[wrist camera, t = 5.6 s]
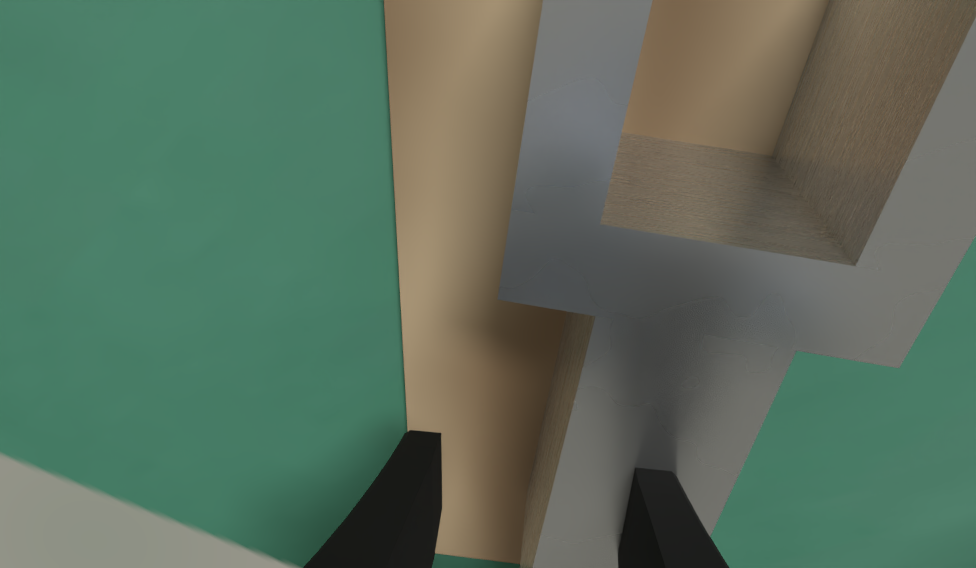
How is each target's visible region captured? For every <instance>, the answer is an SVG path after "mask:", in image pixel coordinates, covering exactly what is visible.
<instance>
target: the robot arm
mask: <svg viewBox="0 0 976 568" xmlns="http://www.w3.org/2000/svg"><path fill="white" fill-rule="evenodd" d="M441 512H442V448H441V433H437V432H427V431H416V430H409V431H408V432H407V433H405V434H404V436H403V438H402V439H401V441H400V443H399V444H398V446H397V448H396V449H395V451H394V452H393V454H392V456H391V457H390V459H389V460H388V462H387V463H386V465H385V466H384V468H383V469H382V470H381V472H380V473H379V475H378V476H377V478H376V479H375V480H374V482H373V483H372V485H371V486H370V487H369V489H368V490H367V491H366V493H365V494H364V495H363V497H362V498H361V499H360V501H359V502H358V503H357V505H356V506H355V507H354V508H353V510H352V511H351V512H350V514H349V515H348V516H347V517H346V519H345V520H344V521H343V522H342V524H341V525H340V526H339V527H338V528H337V529H336V531H335V532H334V533H333V534H332V535H331V537H330V538H329V539H328V540H327V541H326V542H325V544H324V545H323V546H322V547H321V548H320V550H319V551H318V552H317V553H316V554H315V555H314V556H313V557H312V559H311V560H310V561H309V562H308V563H307V564H306V565H305V566H304V567H303V568H432V564H433V560H434V555H435V549H436V543H437V537H438V531H439V525H440V518H441ZM618 568H729V567H728V565H727V564H726V562H725V560H724V559H723V557H722V556H721V554H720V552H719V551H718V549H717V547H716V546H715V544H714V542H713V541H712V539H711V537H710V536H709V534H708V533H707V531H706V529H705V527H704V526H703V524H702V522H701V521H700V519H699V517H698V515H697V513H696V512H695V510H694V508H693V506H692V504H691V502H690V501H689V499H688V497H687V495H686V493H685V491H684V489H683V487H682V485H681V484H680V482H679V480H678V478H677V476H676V475H675V474H674V473H673V472H672V471H665V470H655V469H646V468H636V467H635V470H634V476H633V481H632V486H631V491H630V496H629V501H628V506H627V511H626V516H625V521H624V526H623V531H622V536H621V541H620V546H619V551H618Z"/></svg>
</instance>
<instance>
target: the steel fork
mask: <svg viewBox="0 0 976 568" xmlns="http://www.w3.org/2000/svg"><path fill="white" fill-rule="evenodd" d="M652 1H653V0H543V4H542V10H541V17H540V23H539V30H538V37H537V43H536V50H535V56H534V63H533V69H532V76H531V82H530V89H529V96H528V102H527V109H526V115H525V122H524V128H523V135H522V141H521V148H520V155H519V161H518V168H517V174H516V181H515V187H514V194H513V200H512V207H511V213H510V220H509V227H508V233H507V240H506V246H505V253H504V259H503V266H502V272H501V279H500V286H499V292H498V299H497V300H503V301H509V302H515V303H521V304H527V305H532V306H538V307H544V308H550V309H556V310H562V311H567V313H566V318H565V322H564V327H563V331H562V336H561V340H560V345H559V349H558V354H557V358H556V363H555V367H554V372H553V376H552V381H551V385H550V390H549V394H548V399H547V403H546V408H545V412H544V417H543V421H542V426H541V430H540V435H539V439H538V444H537V448H536V453H535V457H534V462H533V466H532V471H531V475H530V480H529V485H528V489H527V497H526V507H525V518H524V529H523V539H522V550H521V561H520V568H618V551H619V546H620V541H621V536H622V531H623V526H624V521H625V516H626V511H627V506H628V501H629V496H630V491H631V486H632V481H633V476H634V470H635V467H636V468H646V469H655V470H665V471H672V472H673V473H674V474H675V475H676V476H677V478H678V480H679V482H680V484H681V485H682V487H683V489H684V491H685V493H686V495H687V497H688V499H689V501H690V502H691V504H692V506H693V508H694V510H695V512H696V513H697V515H698V517H699V519H700V521H701V522H702V524H703V526H704V527H705V529H706V531H707V533H708V534H709V536H711V534H712V532H713V529H714V527H715V525H716V523H717V521H718V519H719V516H720V514H721V512H722V510H723V508H724V506H725V504H726V501H727V499H728V497H729V495H730V493H731V491H732V488H733V486H734V484H735V482H736V480H737V478H738V475H739V473H740V471H741V469H742V467H743V465H744V463H745V460H746V458H747V456H748V454H749V452H750V450H751V447H752V445H753V443H754V441H755V439H756V437H757V435H758V432H759V430H760V428H761V426H762V424H763V422H764V419H765V417H766V415H767V413H768V411H769V409H770V406H771V404H772V402H773V400H774V398H775V396H776V394H777V391H778V389H779V387H780V385H781V383H782V381H783V378H784V376H785V374H786V372H787V370H788V368H789V366H790V363H791V361H792V359H793V357H794V355H795V353H796V351H802V352H808V353H813V354H819V355H825V356H831V357H837V358H843V359H849V360H854V361H860V362H866V363H872V364H878V365H884V366H890V367H895V368H899V367H900V365H901V364H902V362H903V360H904V359H905V357H906V355H907V353H908V352H909V350H910V348H911V346H912V345H913V343H914V341H915V340H916V338H917V336H918V334H919V333H920V331H921V329H922V327H923V326H924V324H925V322H926V321H927V319H928V317H929V315H930V314H931V312H932V310H933V308H934V307H935V305H936V303H937V301H938V300H939V298H940V296H941V295H942V293H943V291H944V289H945V288H946V286H947V284H948V282H949V281H950V279H951V277H952V276H953V274H954V272H955V270H956V269H957V267H958V265H959V263H960V262H961V260H962V258H963V257H964V255H965V253H966V251H967V250H968V248H969V246H970V244H971V243H972V241H973V239H974V237H975V236H976V0H829V2H828V5H827V7H826V10H825V13H824V16H823V18H822V21H821V24H820V26H819V29H818V32H817V35H816V37H815V40H814V43H813V46H812V48H811V51H810V54H809V56H808V59H807V62H806V65H805V67H804V70H803V73H802V76H801V78H800V81H799V84H798V86H797V89H796V92H795V95H794V97H793V100H792V103H791V106H790V108H789V111H788V114H787V116H786V119H785V122H784V125H783V127H782V130H781V133H780V136H779V138H778V141H777V144H776V146H775V149H774V152H773V155H772V156H770V155H763V154H757V153H751V152H744V151H738V150H732V149H725V148H719V147H713V146H706V145H700V144H693V143H687V142H681V141H674V140H668V139H662V138H655V137H649V136H643V135H636V134H630V133H624V132H622V129H623V124H624V120H625V116H626V112H627V107H628V103H629V99H630V95H631V90H632V86H633V82H634V78H635V73H636V69H637V65H638V61H639V56H640V52H641V48H642V44H643V39H644V35H645V31H646V26H647V22H648V18H649V14H650V9H651V5H652Z"/></svg>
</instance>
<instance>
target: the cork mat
mask: <svg viewBox="0 0 976 568" xmlns="http://www.w3.org/2000/svg"><path fill="white" fill-rule="evenodd" d="M828 2H829V0H653V1H652V5H651V9H650V14H649V18H648V22H647V26H646V31H645V35H644V39H643V44H642V48H641V52H640V56H639V61H638V65H637V69H636V73H635V78H634V82H633V86H632V90H631V95H630V99H629V103H628V107H627V112H626V116H625V120H624V124H623V129H622V132H624V133H630V134H636V135H643V136H649V137H655V138H662V139H668V140H674V141H681V142H687V143H693V144H700V145H706V146H713V147H719V148H725V149H732V150H738V151H744V152H751V153H757V154H763V155H770V156H772V155H773V152H774V149H775V146H776V144H777V141H778V138H779V136H780V133H781V130H782V127H783V125H784V122H785V119H786V116H787V114H788V111H789V108H790V106H791V103H792V100H793V97H794V95H795V92H796V89H797V86H798V84H799V81H800V78H801V76H802V73H803V70H804V67H805V65H806V62H807V59H808V56H809V54H810V51H811V48H812V46H813V43H814V40H815V37H816V35H817V32H818V29H819V26H820V24H821V21H822V18H823V16H824V13H825V10H826V7H827V5H828ZM542 4H543V0H384V10H385V28H386V47H387V65H388V83H389V101H390V119H391V137H392V155H393V174H394V192H395V210H396V228H397V246H398V264H399V282H400V301H401V319H402V337H403V355H404V373H405V391H406V409H407V427H408V431H409V430H416V431H427V432H437V433H441V448H442V512H441V518H440V525H439V531H438V537H437V543H436V549H435V553H437V554H445V555H452V556H460V557H468V558H476V559H484V560H492V561H500V562H508V563H516V564H520V561H521V550H522V539H523V529H524V518H525V507H526V497H527V489H528V485H529V480H530V475H531V471H532V466H533V462H534V457H535V453H536V448H537V444H538V439H539V435H540V430H541V426H542V421H543V417H544V412H545V408H546V403H547V399H548V394H549V390H550V385H551V381H552V376H553V372H554V367H555V363H556V358H557V354H558V349H559V345H560V340H561V336H562V331H563V327H564V322H565V318H566V313H567V311H562V310H556V309H550V308H544V307H538V306H532V305H527V304H521V303H515V302H509V301H503V300H497V299H498V292H499V286H500V279H501V272H502V266H503V259H504V253H505V246H506V240H507V233H508V227H509V220H510V213H511V207H512V200H513V194H514V187H515V181H516V174H517V168H518V161H519V155H520V148H521V141H522V135H523V128H524V122H525V115H526V109H527V102H528V96H529V89H530V82H531V76H532V69H533V63H534V56H535V50H536V43H537V37H538V30H539V23H540V17H541V10H542Z"/></svg>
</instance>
